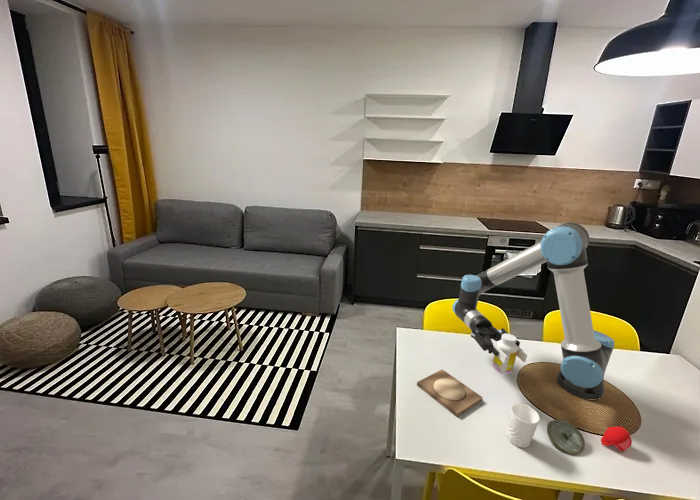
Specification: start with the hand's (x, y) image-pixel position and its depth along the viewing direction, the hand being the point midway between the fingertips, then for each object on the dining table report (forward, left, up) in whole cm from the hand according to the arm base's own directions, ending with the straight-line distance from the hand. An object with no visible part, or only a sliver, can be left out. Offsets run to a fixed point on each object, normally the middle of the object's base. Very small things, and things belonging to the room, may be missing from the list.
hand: (515, 359), depth 116 cm
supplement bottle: (+5, -2, -8) cm, 9 cm away
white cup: (-10, +10, -19) cm, 24 cm away
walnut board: (+15, +12, -19) cm, 27 cm away
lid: (-19, -2, -19) cm, 27 cm away
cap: (-29, -14, -19) cm, 37 cm away
